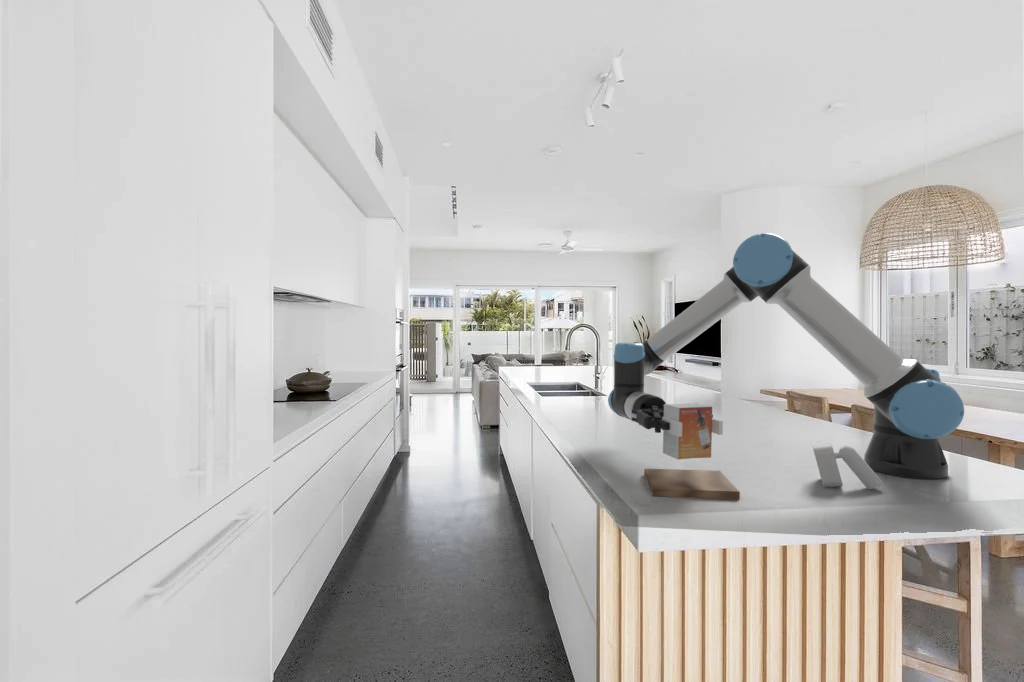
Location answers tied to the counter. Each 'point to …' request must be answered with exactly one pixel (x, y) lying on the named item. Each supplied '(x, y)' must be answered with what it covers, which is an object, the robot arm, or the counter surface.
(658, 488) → the board
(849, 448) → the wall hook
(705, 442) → the small box
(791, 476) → the counter surface
